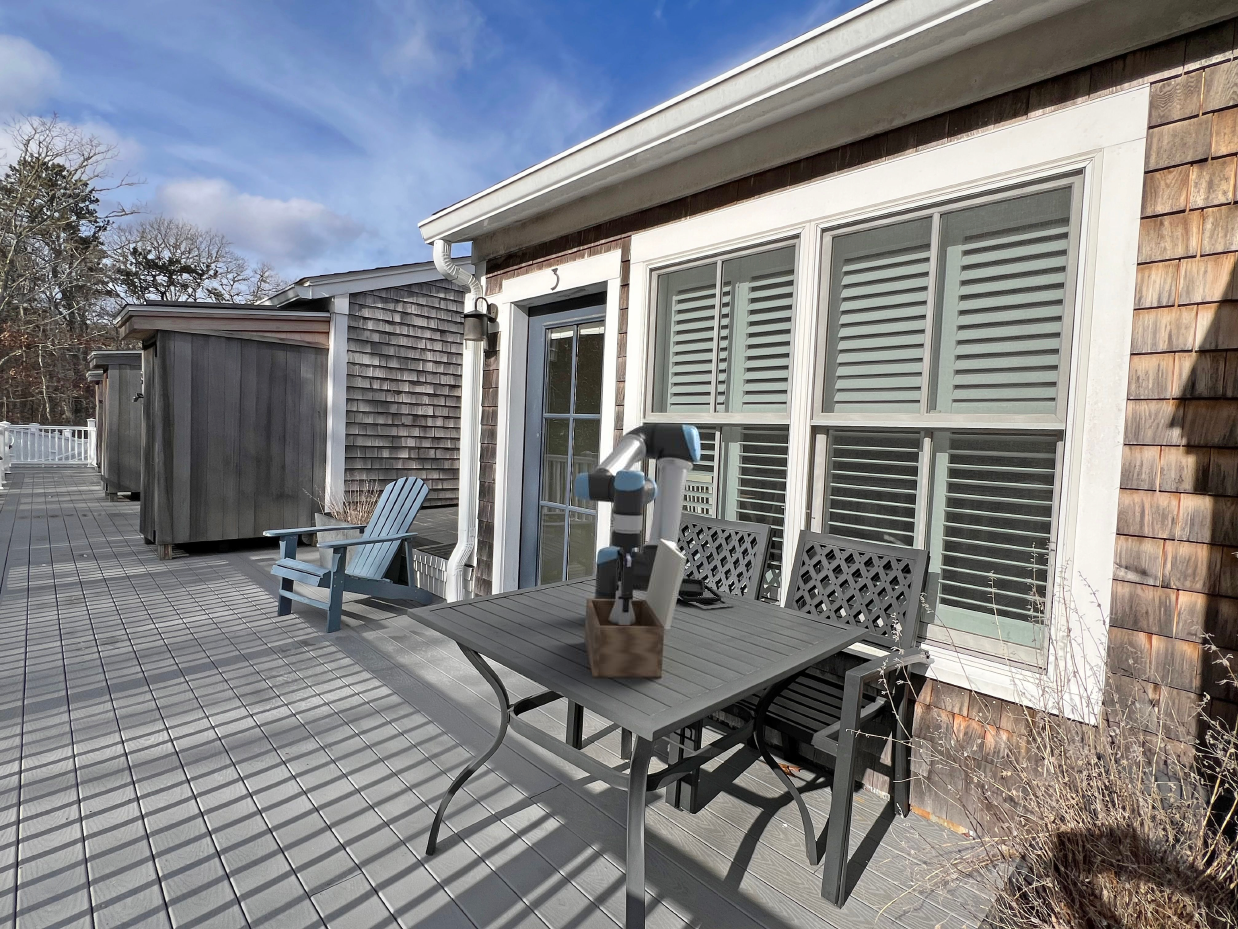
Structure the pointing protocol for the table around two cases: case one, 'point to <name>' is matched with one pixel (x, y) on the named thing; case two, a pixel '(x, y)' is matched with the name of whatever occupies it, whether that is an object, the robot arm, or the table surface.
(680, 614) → the table surface
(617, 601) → the flask
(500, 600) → the table surface
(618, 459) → the robot arm
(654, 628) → the bin
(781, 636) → the table surface
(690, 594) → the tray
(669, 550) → the lid
